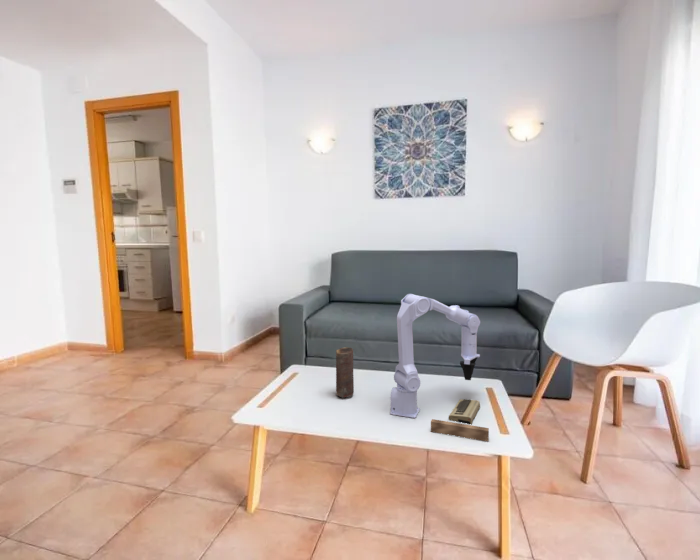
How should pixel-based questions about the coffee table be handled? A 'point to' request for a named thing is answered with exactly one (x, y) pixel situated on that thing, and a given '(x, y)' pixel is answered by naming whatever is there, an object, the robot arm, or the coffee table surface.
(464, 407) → the computer
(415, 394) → the robot arm
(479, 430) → the bar
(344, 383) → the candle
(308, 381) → the coffee table surface
